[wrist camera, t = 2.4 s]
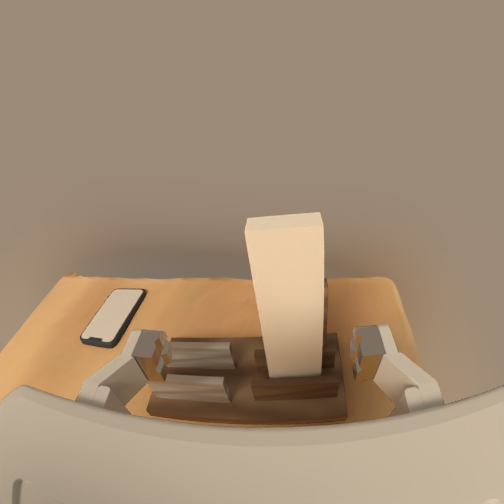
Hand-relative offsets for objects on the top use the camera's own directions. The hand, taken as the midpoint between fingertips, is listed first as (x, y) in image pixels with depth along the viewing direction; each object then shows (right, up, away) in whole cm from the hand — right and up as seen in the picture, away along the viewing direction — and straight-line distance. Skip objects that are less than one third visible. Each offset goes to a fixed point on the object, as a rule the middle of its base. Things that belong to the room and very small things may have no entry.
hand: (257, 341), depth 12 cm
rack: (-1, -14, +25) cm, 29 cm away
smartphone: (-27, -9, +40) cm, 49 cm away
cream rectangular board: (+5, -12, +22) cm, 26 cm away
